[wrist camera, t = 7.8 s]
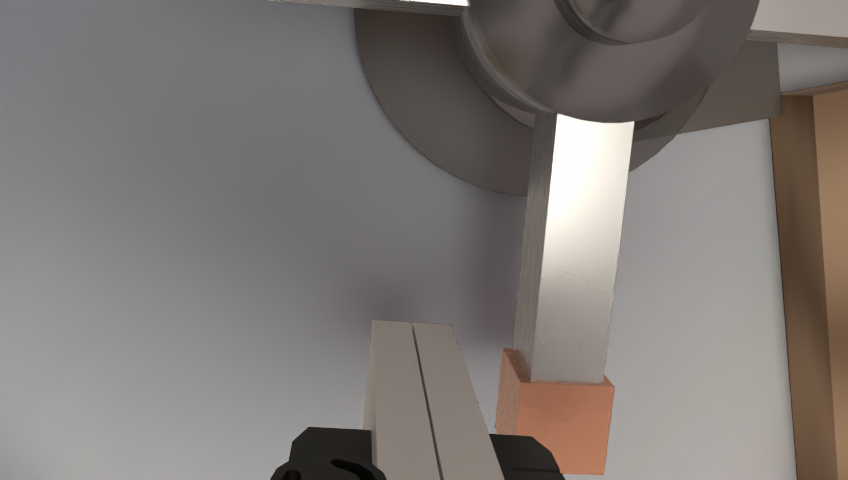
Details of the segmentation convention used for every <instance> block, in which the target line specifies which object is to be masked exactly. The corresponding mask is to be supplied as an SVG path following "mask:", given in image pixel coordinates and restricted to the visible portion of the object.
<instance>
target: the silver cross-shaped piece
mask: <svg viewBox="0 0 848 480" xmlns="http://www.w3.org/2000/svg"><path fill="white" fill-rule="evenodd" d="M267 1H279V2H292V3H304V4H316V5H328V6H340V7H352V8H365V9H377V10H389V11H401V12H413V13H425V14H437V15H446V18H447V24H448V28H449V33H450V37H451V40H452V42H453V45H454V47H455V50H456V52H457V54H458V56H459V58H460V60H461V61H462V63H463V65H464V66H465V68H466V69H467V71H468V72H469V73H470V75H471V76H472V77H473V78H474V80H475V81H476V83H477V84H478V85H479V87H480V88H481V89H482V91H483V92H484V94H485V95H486V96H487V97H488V98H489V99H490V100H491V101H492V102H493V103H494V104H495V105H496V106H497V107H498V108H499V109H500V110H501V111H503V112H504V113H505V114H506V115H508V116H509V117H510V118H512V119H514V120H515V121H517V122H519V123H520V124H522V125H524V126H526V127H528V128H531V129H533V130H534V135H533V145H532V155H531V166H530V176H529V186H528V197H527V207H526V217H525V228H524V238H523V248H522V259H521V269H520V279H519V290H518V300H517V310H516V320H515V331H514V341H513V349H508V348H502V359H501V369H500V380H499V390H498V401H497V412H496V422H495V429H496V432H497V434H502V435H521V436H532V437H533V438H534V439H536V440H537V441H538V442H539V443H541V444H542V445H543V446H544V447H546V448H547V449H548V450H549V451H551V452H552V454H553V456H554V458H555V460H556V462H557V464H558V466H559V468H560V473H562V474H589V475H604V469H605V461H606V453H607V445H608V437H609V429H610V421H611V413H612V404H613V396H614V388H615V387H614V386H613V384H612V383H611V382H610V381H609V380H608V378H607V377H606V376H605V375H604V370H605V362H606V353H607V345H608V337H609V328H610V320H611V312H612V304H613V295H614V287H615V279H616V270H617V262H618V254H619V245H620V237H621V229H622V220H623V212H624V204H625V196H626V187H627V179H628V171H629V162H630V154H631V146H632V137H633V132H634V131H637V130H639V129H642V128H644V127H646V126H648V125H650V124H651V123H653V122H655V121H656V120H658V119H660V118H661V117H663V116H664V115H665V114H667V113H668V112H669V111H671V110H672V109H675V108H677V107H678V106H680V105H682V104H684V103H685V102H687V101H689V100H691V99H692V98H694V97H695V96H696V95H697V94H699V93H700V92H701V91H703V90H704V89H705V88H707V87H708V86H709V85H710V84H711V83H712V82H713V81H714V80H715V79H716V78H717V77H718V76H719V75H720V74H721V73H722V72H723V71H724V69H725V68H726V67H727V66H728V65H729V63H730V62H731V61H732V60H733V58H734V57H735V55H736V54H737V52H738V50H739V49H740V47H741V46H742V44H743V42H744V41H745V40H753V41H766V42H778V43H790V44H802V45H814V46H826V47H839V48H848V0H267Z"/></svg>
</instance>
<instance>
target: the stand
mask: <svg viewBox="0 0 848 480" xmlns="http://www.w3.org/2000/svg"><path fill="white" fill-rule="evenodd" d="M354 16H355V25H356V34H357V41H358V45H359V49H360V53H361V57H362V61H363V65H364V68H365V70H366V73H367V76H368V78H369V81H370V83H371V86H372V88H373V90H374V92H375V94H376V96H377V98H378V100H379V101H380V103H381V105H382V107H383V109H384V110H385V112H386V113H387V114H388V116H389V117H390V119H391V120H392V121H393V123H394V124H395V126H396V127H397V128H398V130H399V131H400V132H401V133H402V134H403V135H404V136H405V137H406V138H407V139H408V140H409V141H410V142H411V143H412V145H413V146H414V147H415V148H416V149H418V150H419V151H420V152H421V153H422V154H424V155H425V156H426V157H427V158H429V159H430V160H431V161H432V162H434V163H435V164H436V165H438V166H440V167H441V168H443V169H444V170H446V171H448V172H449V173H451V174H453V175H454V176H456V177H458V178H461V179H463V180H465V181H467V182H470V183H472V184H474V185H476V186H479V187H483V188H486V189H490V190H493V191H496V192H500V193H506V194H513V195H519V196H528V186H529V176H530V166H531V155H532V145H533V135H534V130H533V129H531V128H528V127H526V126H524V125H522V124H520V123H519V122H517V121H515V120H514V119H512V118H510V117H509V116H508V115H506V114H505V113H504V112H503V111H501V110H500V109H499V108H498V107H497V106H496V105H495V104H494V103H493V102H492V101H491V100H490V99H489V98H488V97H487V96H486V95H485V94H484V92H483V91H482V89H481V88H480V87H479V85H478V84H477V83H476V81H475V80H474V78H473V77H472V76H471V75H470V73H469V72H468V71H467V69H466V68H465V66H464V65H463V63H462V61H461V60H460V58H459V56H458V54H457V52H456V50H455V47H454V45H453V42H452V40H451V37H450V33H449V28H448V24H447V18H446V15H437V14H425V13H413V12H401V11H389V10H377V9H365V8H354ZM766 118H770V127H771V140H772V153H773V165H774V178H775V191H776V204H777V217H778V230H779V243H780V256H781V269H782V282H783V295H784V308H785V321H786V334H787V347H788V360H789V373H790V386H791V399H792V412H793V425H794V438H795V451H796V464H797V477H798V480H848V81H847V82H841V83H835V84H830V85H824V86H818V87H812V88H807V89H801V90H795V91H790V92H784V93H780V81H779V68H778V54H777V42H766V41H753V40H745V41H744V42H743V44H742V46H741V47H740V49H739V50H738V52H737V54H736V55H735V57H734V58H733V60H732V61H731V62H730V63H729V65H728V66H727V67H726V68H725V69H724V71H723V72H722V73H721V74H720V75H719V76H718V77H717V78H716V79H715V80H714V81H713V82H712V83H711V84H710V85H709V86H708V87H707V88H705V89H704V90H703V91H701V92H700V93H699V94H697V95H696V96H695V97H694V98H692V99H691V100H689V101H687V102H685V103H684V104H682V105H680V106H678V107H677V108H675V109H672V110H671V111H669V112H668V113H667V114H665V115H664V116H663V117H661V118H660V119H658V120H656V121H655V122H653V123H651V124H650V125H648V126H646V127H644V128H642V129H639V130H637V131H634V132H633V137H632V146H631V154H630V162H629V171H628V173H629V172H630V171H632V170H634V169H636V168H637V167H639V166H640V165H642V164H643V163H644V162H646V161H647V160H649V159H650V158H651V157H653V156H654V155H656V154H657V153H658V152H659V151H660V150H661V149H662V148H663V147H664V146H665V145H666V144H668V143H669V142H670V141H671V140H672V139H673V138H674V137H675V136H676V135H677V134H681V133H686V132H692V131H698V130H703V129H709V128H715V127H720V126H726V125H732V124H737V123H743V122H749V121H754V120H760V119H766Z"/></svg>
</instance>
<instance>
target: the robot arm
mask: <svg viewBox="0 0 848 480" xmlns="http://www.w3.org/2000/svg"><path fill="white" fill-rule="evenodd" d="M270 480H565V479H564V477H563V475H562V473H560V468H559V466H558V464H557V462H556V460H555V458H554V456H553V454H552V452H551V451H549V450H548V449H547V448H546V447H544V446H543V445H542V444H541V443H539V442H538V441H537V440H536V439H534V438H533V437H532V436H521V435H502V434H489V433H488V431H487V428H486V425H485V422H484V419H483V416H482V413H481V410H480V407H479V404H478V402H477V399H476V396H475V393H474V390H473V387H472V384H471V381H470V378H469V375H468V373H467V370H466V367H465V364H464V361H463V358H462V355H461V352H460V349H459V347H458V344H457V341H456V338H455V335H454V332H453V329H452V326H451V325H446V324H430V323H415V322H413V328H412V326H411V322H399V321H384V320H372V331H371V343H370V355H369V367H368V379H367V391H366V403H365V415H364V427H363V430H358V429H339V428H319V427H308V428H307V429H306V430H305V431H304V432H303V433H301V434H300V435H299V436H298V437H297V438H296V439H295V440H294V441H293V442H292V447H291V452H290V457H289V461H288V462H287V463H285V464H283V465H282V466H280V467H278V468H277V469H276V471H275V472H274V474H273V476H272V477H271V479H270Z"/></svg>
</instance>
